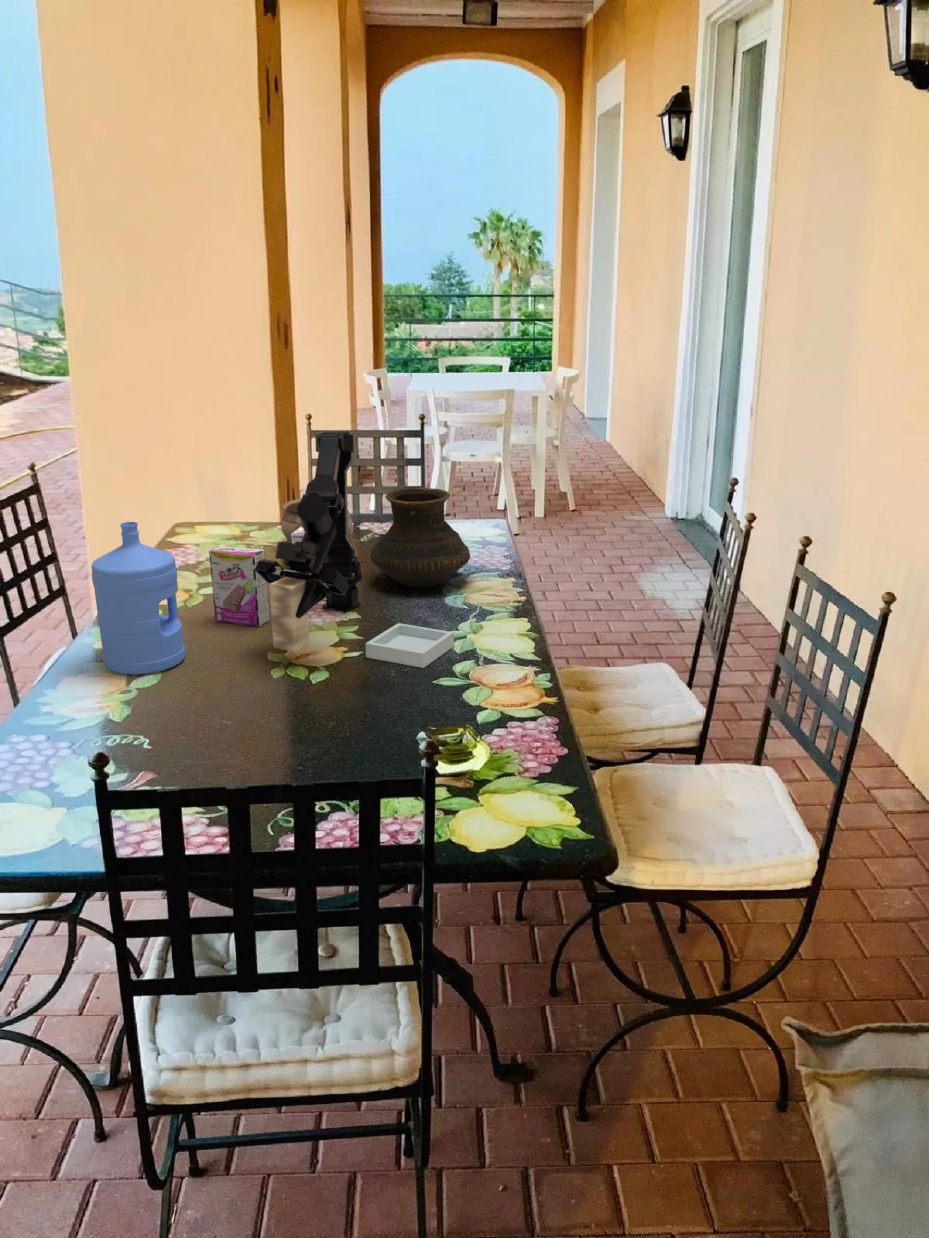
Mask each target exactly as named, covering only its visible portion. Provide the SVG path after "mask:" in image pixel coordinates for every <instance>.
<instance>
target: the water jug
mask: <svg viewBox="0 0 929 1238" xmlns="http://www.w3.org/2000/svg"><path fill="white" fill-rule="evenodd" d="M119 526H120V528H121V532H120V533H121V534H120V535H121V538H122V539H121V540H122V543H121V545H120V546H118V547H117V548H115V549H112V550H111V551H109V552H107V553H105V554H103V555H101V556H99V557H98V558H96V559H95V560H93V561H92V563H91V579H92V580H91V581H92V584H93V589H94V597H95V603H96V604H95V605H96V615H97V616H96V617H97V624H98V627H99V633H100V641H101V647H102V663H103V665H104V667H105V668H106V669H107V670H109V671H110V672H112V673H115V674H120V675H125V674H131V675H130V676H138V675H137V674H144V675H151V674H155V672H157V673H160V672H159V671H161V672H164V671H167V670H169V668H170V669H172V668H174V667H175V666H178V665H179V664H180V663H182V662H183V660H184V659H185V657H186V644H185V643H184V642H185V641H184V632H183V624H182V621H181V620H180V619H179V611H178V603H177V601H178V600H177V593H178V591H179V584H178V571H177V570H178V569H177V564H176V559H175V556H174V555H173V554H172V553H170V552H168V551H165V550H161V549H159V548H155V547H152V546H150V545H146V544H143V543H141V542H140V531H139V529H138V526H139V525H138V522H135V521H127V522H126V521H125V522H122V523H120V525H119ZM164 600H167V601H166V602H167V611H168V612H167V613H168V615H164V614H160V610H159V609H160V608H159V606H160V604H161V602H162V601H164ZM177 664H178V665H177ZM171 667H172V668H171ZM166 669H167V670H166ZM150 673H151V674H150Z"/></svg>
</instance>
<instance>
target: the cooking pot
mask: <svg viewBox="0 0 929 1238" xmlns="http://www.w3.org/2000/svg"><path fill="white" fill-rule="evenodd" d="M301 499H302V498H299V499H293V500H290V501H288V502H285V503H284V504H283V505H282V508H283V509H284V512H283V514H282V517H281V521H280V522H281V523H280V527H281V531H282V534H283V535H284V537H285V538H286V539H287V541H288V542H290V544H292V538H291V534H292V533H293V532H294V531H296V530H298V529H299V528H300V527H302V524H301V521H300V518H299V516H298V513H297V507H298V505H299V503H300V501H301ZM348 506H349V502H348V501H347V507H348ZM347 523H348V536H349V535H350V534H351V531H352V528H353V521H352V517H351V513H350V511H349V510H348V508H347Z"/></svg>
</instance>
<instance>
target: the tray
mask: <svg viewBox="0 0 929 1238" xmlns="http://www.w3.org/2000/svg"><path fill="white" fill-rule="evenodd" d="M453 647H455V632H454V631H448V630H444V629H443V630H441V629H436V628H435V629H434V628H430V627H424V626H418V625H412V624H405V623H401V622H398V623H396V624H395V625H393V626H392V627H389V628H388V629H387V630H385V631H382V633H380V634H378V635H377V636H375V637H374V638H372V639H370V640H369V641H367V642H366V643H365V657H366V658H368V659H372V660H377V661H383V662H389V663H393V664H395V663H396V664H399V665H405V666H410V667H414V668H415V667H416V668H422V669H424V668H426V667H427V666H429V665H430V664H431V663H433V662H434V661H435V660H437V659H438V658H440V657H441V656H442V655H444V654H446V652H448V651H449V650H451V649H452V648H453Z"/></svg>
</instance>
